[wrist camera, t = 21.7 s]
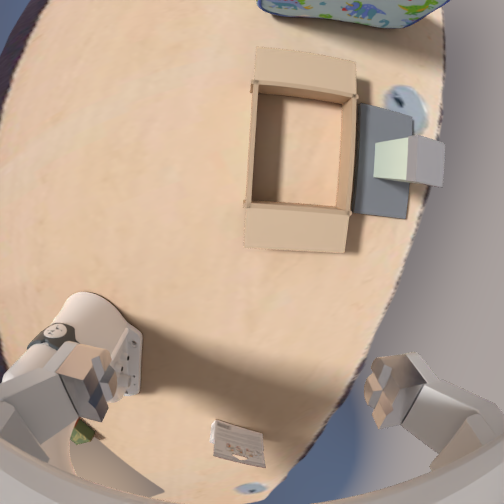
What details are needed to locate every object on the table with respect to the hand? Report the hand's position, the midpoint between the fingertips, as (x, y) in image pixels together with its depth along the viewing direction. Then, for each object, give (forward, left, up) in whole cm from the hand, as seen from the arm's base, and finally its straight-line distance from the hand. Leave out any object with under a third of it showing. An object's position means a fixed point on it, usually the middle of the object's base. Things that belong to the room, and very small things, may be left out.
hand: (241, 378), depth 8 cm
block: (+10, -20, -31) cm, 38 cm away
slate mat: (+10, -20, -32) cm, 39 cm away
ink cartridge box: (-43, -1, -32) cm, 54 cm away
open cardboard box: (+10, -7, -32) cm, 34 cm away
